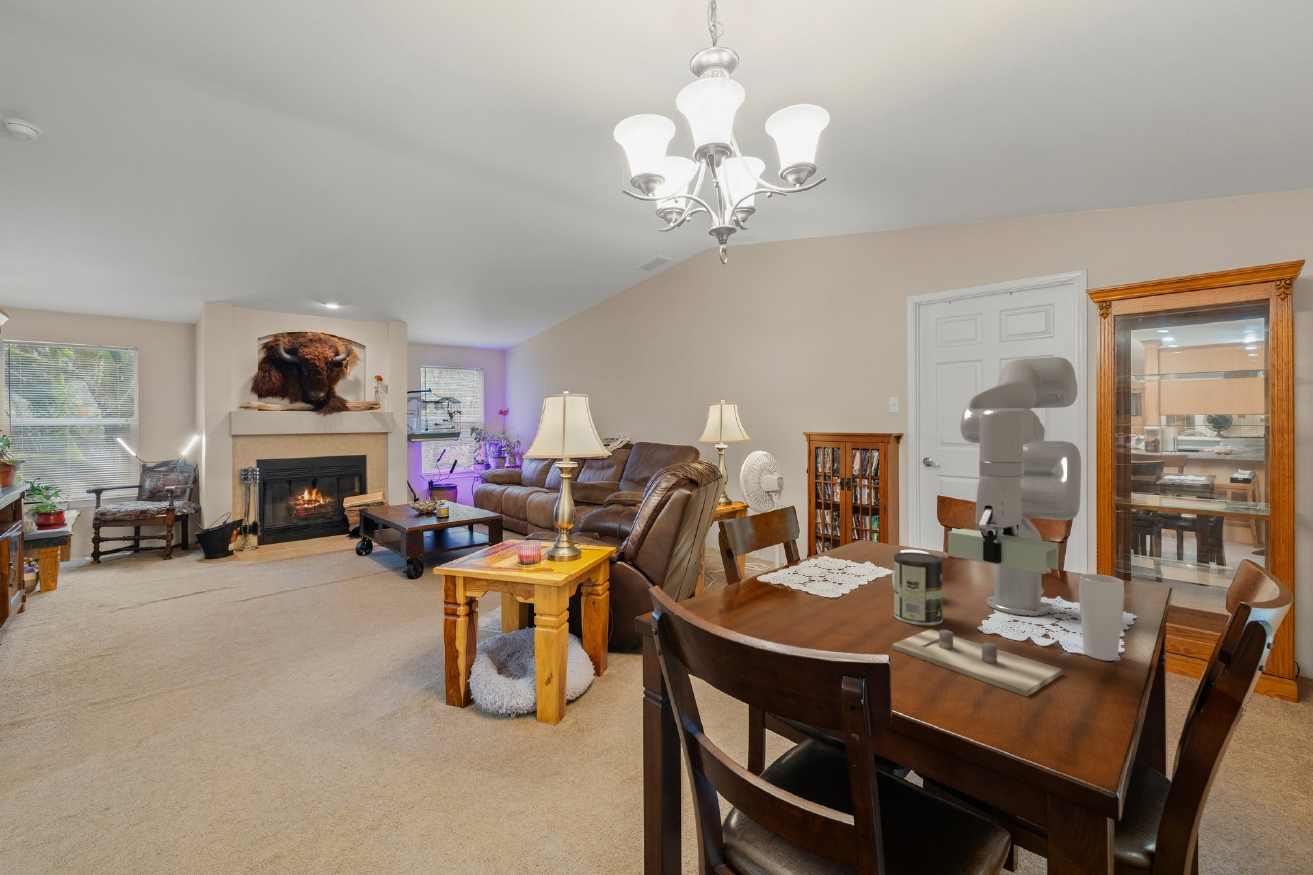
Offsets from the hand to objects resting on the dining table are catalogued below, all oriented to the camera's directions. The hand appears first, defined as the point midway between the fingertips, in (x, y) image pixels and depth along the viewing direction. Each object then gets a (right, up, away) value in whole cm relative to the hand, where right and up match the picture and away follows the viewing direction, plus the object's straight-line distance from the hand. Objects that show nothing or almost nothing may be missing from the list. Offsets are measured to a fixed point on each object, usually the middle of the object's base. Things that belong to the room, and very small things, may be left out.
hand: (1000, 558), depth 114 cm
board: (-10, -18, -8) cm, 22 cm away
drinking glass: (+15, -18, -6) cm, 24 cm away
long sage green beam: (0, -1, 0) cm, 1 cm away
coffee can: (-9, -17, +16) cm, 25 cm away
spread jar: (-4, -17, +29) cm, 34 cm away
